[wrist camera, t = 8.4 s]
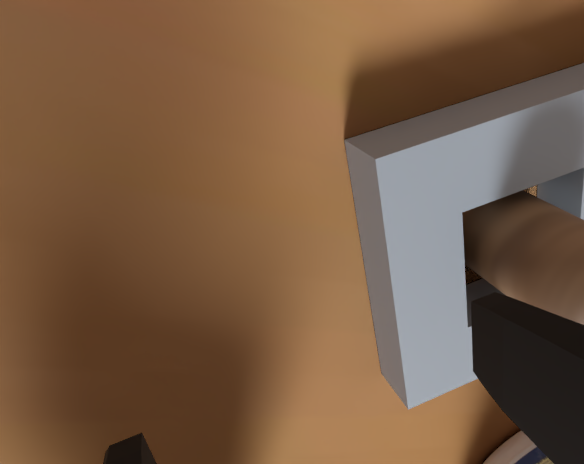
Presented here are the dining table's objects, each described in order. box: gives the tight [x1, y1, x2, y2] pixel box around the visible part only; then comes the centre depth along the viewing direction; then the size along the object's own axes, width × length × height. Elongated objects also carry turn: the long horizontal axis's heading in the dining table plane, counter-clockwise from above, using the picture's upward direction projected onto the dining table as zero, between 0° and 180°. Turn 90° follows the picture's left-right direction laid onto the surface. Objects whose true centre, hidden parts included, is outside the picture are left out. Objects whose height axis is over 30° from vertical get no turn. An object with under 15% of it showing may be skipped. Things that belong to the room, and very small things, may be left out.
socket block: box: [344, 63, 584, 409], centre depth 23 cm, size 12×12×2 cm
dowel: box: [462, 190, 584, 325], centre depth 21 cm, size 4×4×7 cm
